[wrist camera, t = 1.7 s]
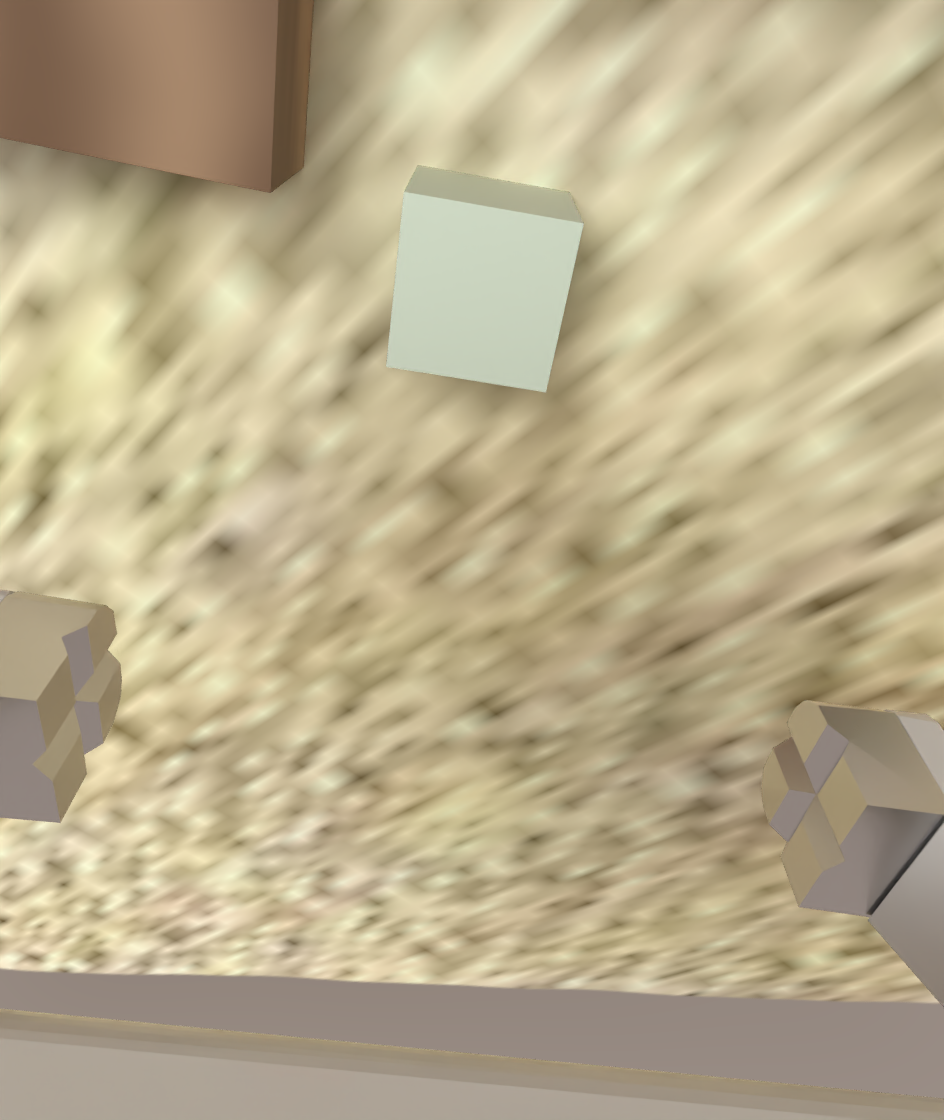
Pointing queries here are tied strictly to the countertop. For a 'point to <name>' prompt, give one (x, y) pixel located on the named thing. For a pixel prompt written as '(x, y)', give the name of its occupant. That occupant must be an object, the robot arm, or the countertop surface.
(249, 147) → the walnut block
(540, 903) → the countertop surface
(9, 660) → the robot arm
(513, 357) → the sage cube
